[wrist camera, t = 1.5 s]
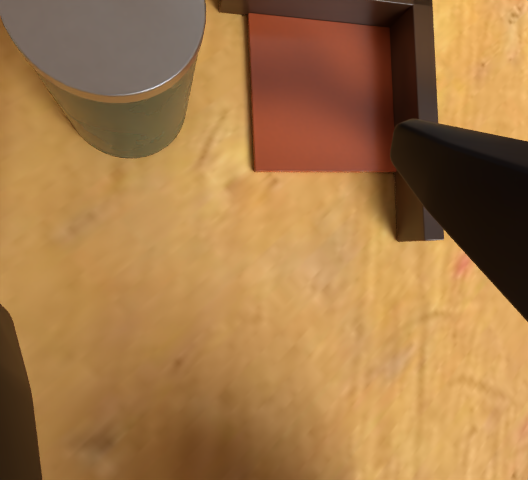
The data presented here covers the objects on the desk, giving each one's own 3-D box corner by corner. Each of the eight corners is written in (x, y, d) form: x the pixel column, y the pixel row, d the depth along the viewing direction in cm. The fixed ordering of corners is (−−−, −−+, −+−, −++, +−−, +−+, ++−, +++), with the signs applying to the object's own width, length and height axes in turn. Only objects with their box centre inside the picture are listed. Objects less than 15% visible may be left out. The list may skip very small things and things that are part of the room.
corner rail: (415, 240, 24) (444, 239, 21) (229, 249, 21) (238, 249, 18) (404, 11, 24) (431, -16, 21) (218, -11, 21) (225, -44, 19)
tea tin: (201, 144, 21) (229, 75, 12) (85, 172, 19) (31, 114, 11) (167, 34, 20) (174, -111, 12) (48, 54, 19) (-37, -95, 11)
